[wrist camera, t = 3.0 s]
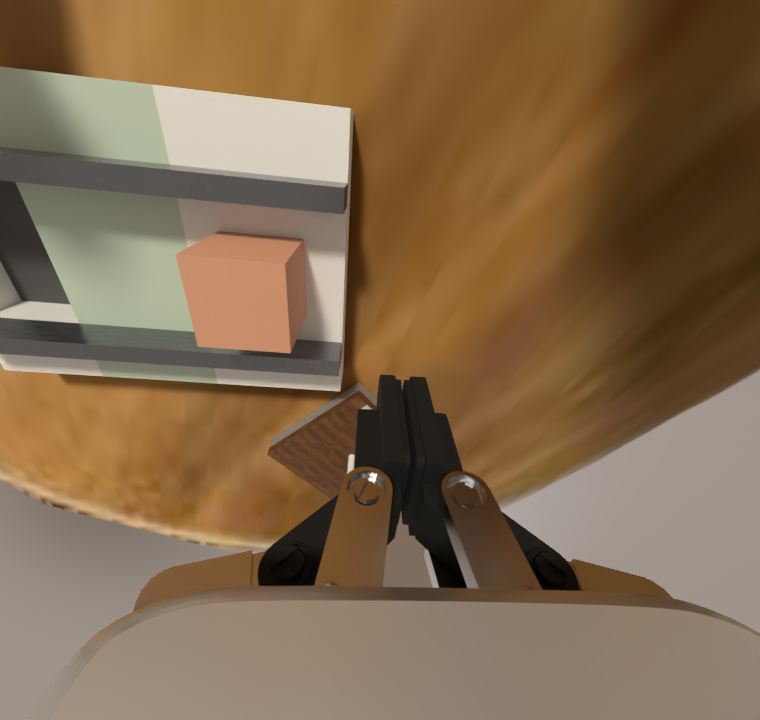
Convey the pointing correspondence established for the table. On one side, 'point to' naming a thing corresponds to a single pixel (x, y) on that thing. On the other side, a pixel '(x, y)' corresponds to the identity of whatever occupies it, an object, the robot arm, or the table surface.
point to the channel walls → (176, 184)
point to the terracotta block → (245, 290)
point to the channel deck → (159, 212)
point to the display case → (345, 473)
